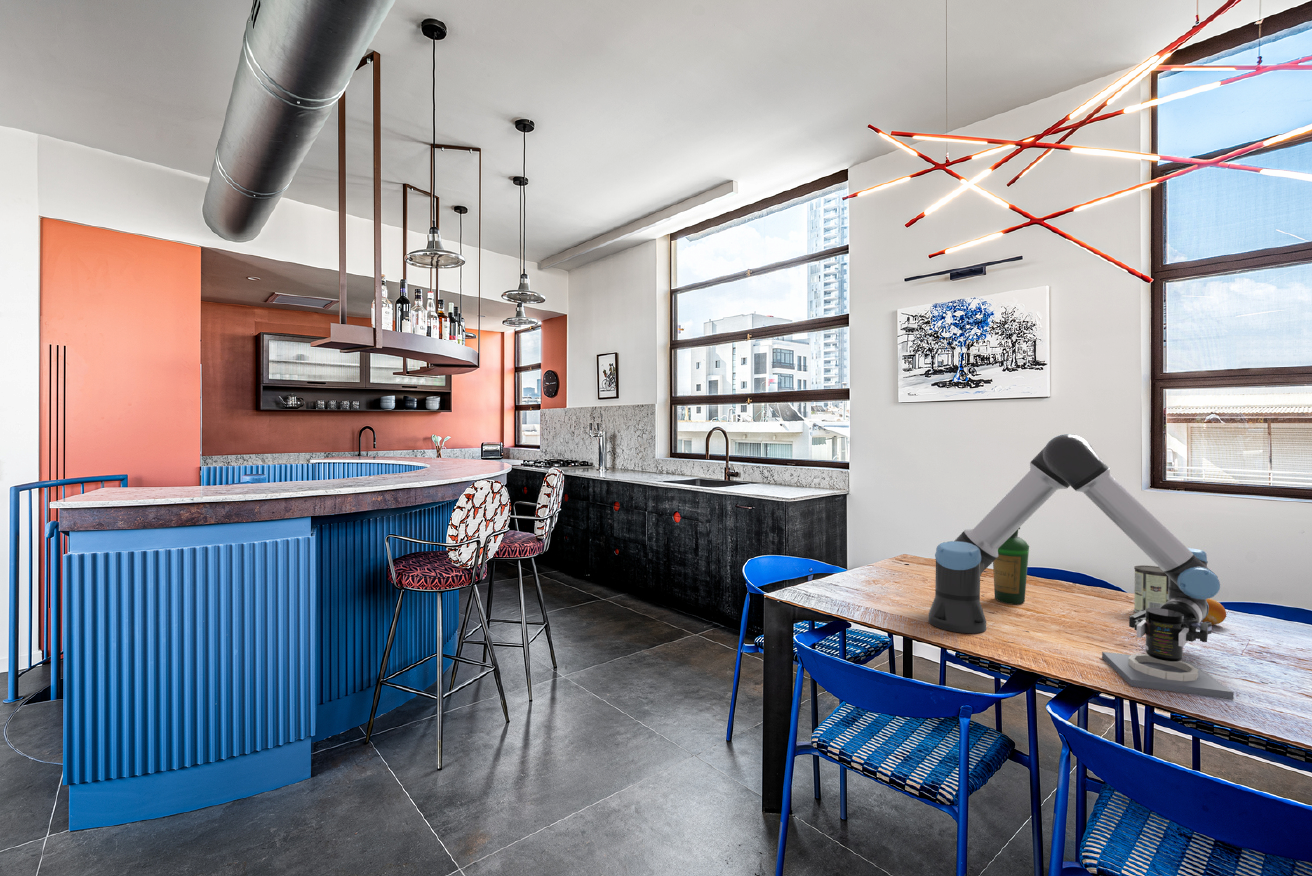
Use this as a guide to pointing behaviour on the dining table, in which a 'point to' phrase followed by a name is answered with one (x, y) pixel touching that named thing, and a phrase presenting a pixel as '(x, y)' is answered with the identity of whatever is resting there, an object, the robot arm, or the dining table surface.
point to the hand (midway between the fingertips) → (1159, 635)
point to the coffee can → (1150, 587)
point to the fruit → (1215, 612)
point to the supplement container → (1163, 634)
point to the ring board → (1166, 675)
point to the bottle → (1011, 570)
